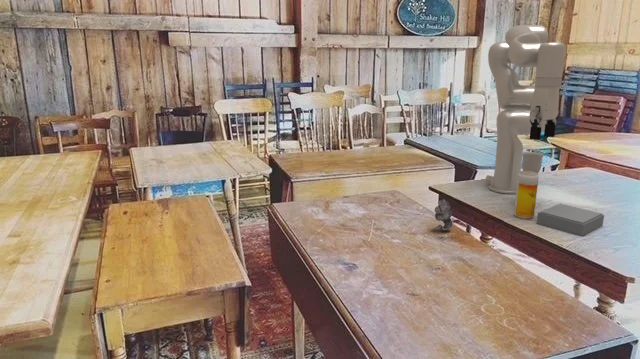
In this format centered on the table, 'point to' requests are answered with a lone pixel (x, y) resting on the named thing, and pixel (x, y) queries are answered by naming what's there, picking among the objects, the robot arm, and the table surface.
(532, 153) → the chalice
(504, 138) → the robot arm
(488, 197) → the table surface
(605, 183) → the table surface
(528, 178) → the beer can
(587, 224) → the plinth
